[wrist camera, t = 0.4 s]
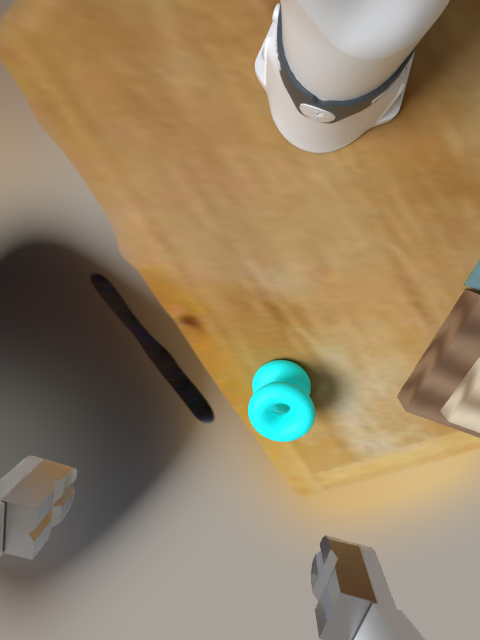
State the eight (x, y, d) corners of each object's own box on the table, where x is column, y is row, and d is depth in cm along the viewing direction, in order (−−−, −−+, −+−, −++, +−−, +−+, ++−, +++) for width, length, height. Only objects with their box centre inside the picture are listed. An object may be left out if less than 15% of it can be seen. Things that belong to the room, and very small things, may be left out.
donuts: (233, 418, 44) (278, 376, 41) (242, 382, 54) (278, 345, 50) (283, 456, 45) (331, 418, 42) (283, 415, 55) (322, 381, 51)
